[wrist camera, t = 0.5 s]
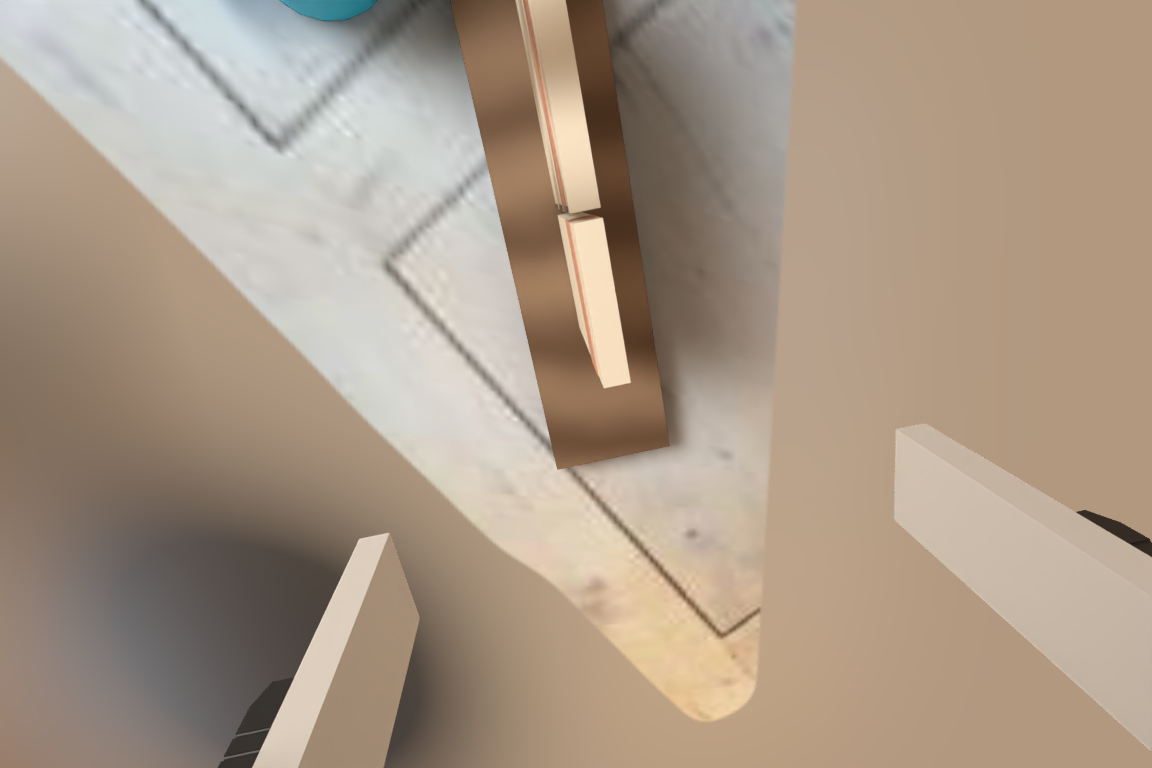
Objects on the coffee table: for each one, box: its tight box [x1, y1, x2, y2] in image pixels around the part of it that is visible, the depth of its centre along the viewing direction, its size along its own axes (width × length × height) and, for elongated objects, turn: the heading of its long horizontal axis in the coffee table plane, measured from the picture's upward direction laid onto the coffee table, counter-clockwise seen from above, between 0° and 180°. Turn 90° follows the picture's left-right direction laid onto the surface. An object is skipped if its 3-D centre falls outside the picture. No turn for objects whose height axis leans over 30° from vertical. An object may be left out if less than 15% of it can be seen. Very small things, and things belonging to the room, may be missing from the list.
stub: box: [558, 212, 631, 388], centre depth 29 cm, size 7×1×12 cm, turn 11°
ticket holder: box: [450, 0, 670, 470], centre depth 29 cm, size 32×8×14 cm, turn 11°
